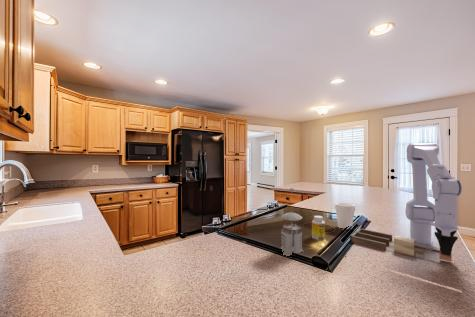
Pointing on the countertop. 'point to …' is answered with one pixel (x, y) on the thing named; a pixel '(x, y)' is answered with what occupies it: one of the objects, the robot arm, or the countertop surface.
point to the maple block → (413, 247)
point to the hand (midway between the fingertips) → (445, 251)
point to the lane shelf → (380, 242)
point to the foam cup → (344, 214)
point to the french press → (291, 234)
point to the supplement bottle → (318, 228)
